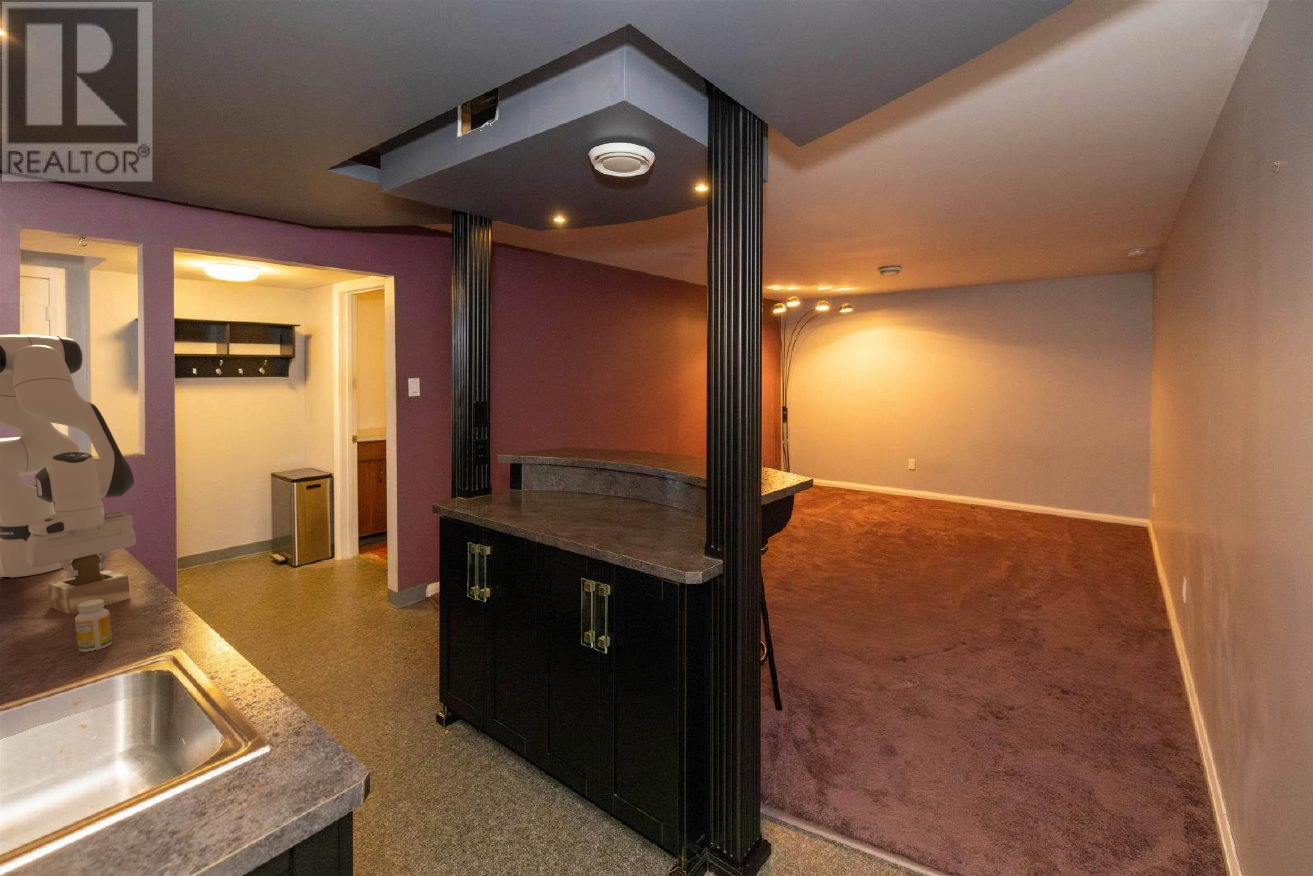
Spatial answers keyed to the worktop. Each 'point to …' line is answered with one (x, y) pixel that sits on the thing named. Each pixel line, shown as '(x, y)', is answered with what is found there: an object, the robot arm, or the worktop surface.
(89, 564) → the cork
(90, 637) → the supplement bottle
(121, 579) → the shaker holder
